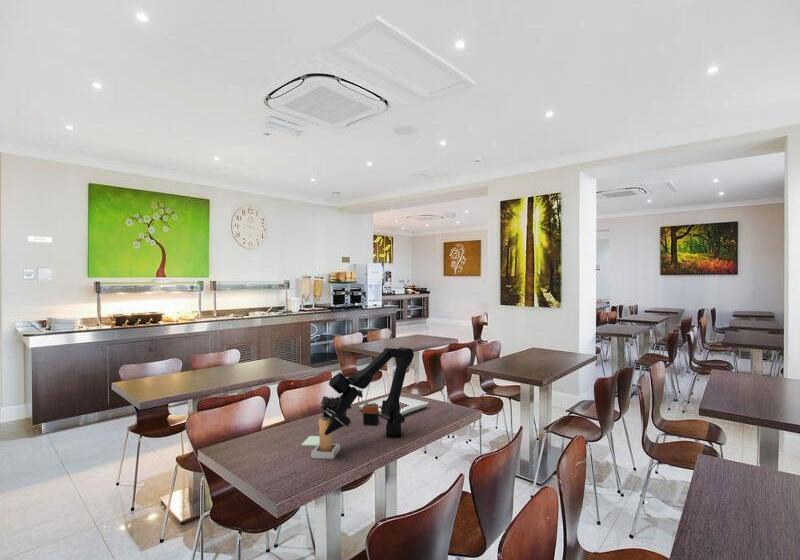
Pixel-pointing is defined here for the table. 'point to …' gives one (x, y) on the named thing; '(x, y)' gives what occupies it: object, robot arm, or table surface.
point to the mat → (311, 441)
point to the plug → (324, 439)
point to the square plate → (412, 403)
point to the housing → (325, 452)
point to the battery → (370, 414)
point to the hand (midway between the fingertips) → (322, 432)
